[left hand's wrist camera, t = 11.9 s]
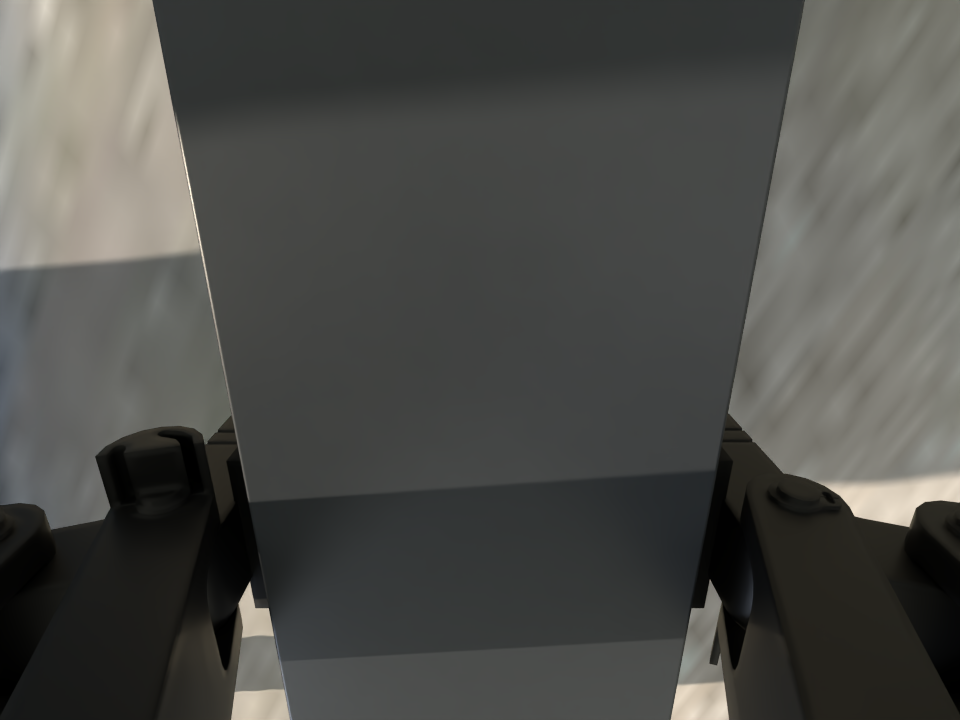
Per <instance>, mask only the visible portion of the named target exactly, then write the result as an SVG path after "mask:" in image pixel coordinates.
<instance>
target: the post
mask: <svg viewBox="0 0 960 720" xmlns="http://www.w3.org/2000/svg"><path fill="white" fill-rule="evenodd" d="M152 1H153V6H154V11H155V16H156V22H157V27H158V32H159V37H160V42H161V48H162V53H163V58H164V63H165V69H166V74H167V79H168V84H169V89H170V95H171V100H172V105H173V110H174V116H175V121H176V126H177V131H178V136H179V142H180V147H181V152H182V157H183V162H184V168H185V173H186V178H187V183H188V189H189V194H190V199H191V204H192V209H193V215H194V220H195V225H196V230H197V236H198V241H199V246H200V251H201V256H202V262H203V267H204V272H205V277H206V283H207V288H208V293H209V298H210V303H211V309H212V314H213V319H214V324H215V330H216V335H217V340H218V345H219V350H220V356H221V361H222V366H223V371H224V377H225V382H226V387H227V392H228V397H229V403H230V408H231V413H232V418H233V424H234V429H235V434H236V439H237V444H238V450H239V455H240V460H241V465H242V470H243V476H244V481H245V486H246V491H247V497H248V502H249V507H250V512H251V517H252V523H253V528H254V533H255V538H256V544H257V549H258V554H259V559H260V564H261V570H262V575H263V580H264V585H265V591H266V596H267V601H268V606H269V611H270V617H271V622H272V627H273V632H274V638H275V643H276V648H277V653H278V658H279V664H280V669H281V674H282V679H283V685H284V690H285V695H286V700H287V705H288V711H289V716H290V720H671V714H672V709H673V704H674V698H675V693H676V688H677V682H678V677H679V672H680V666H681V661H682V656H683V650H684V645H685V639H686V634H687V629H688V623H689V618H690V613H691V607H692V602H693V597H694V591H695V586H696V580H697V575H698V570H699V564H700V559H701V554H702V548H703V543H704V538H705V532H706V527H707V522H708V516H709V511H710V505H711V500H712V495H713V489H714V484H715V479H716V473H717V468H718V463H719V457H720V452H721V447H722V441H723V436H724V430H725V425H726V420H727V414H728V409H729V404H730V398H731V393H732V388H733V382H734V377H735V372H736V366H737V361H738V355H739V350H740V345H741V339H742V334H743V329H744V323H745V318H746V313H747V307H748V302H749V297H750V291H751V286H752V280H753V275H754V270H755V264H756V259H757V254H758V248H759V243H760V238H761V232H762V227H763V222H764V216H765V211H766V205H767V200H768V195H769V189H770V184H771V179H772V173H773V168H774V163H775V157H776V152H777V146H778V141H779V136H780V130H781V125H782V120H783V114H784V109H785V104H786V98H787V93H788V88H789V82H790V77H791V71H792V66H793V61H794V55H795V50H796V45H797V39H798V34H799V29H800V23H801V18H802V13H803V7H804V2H805V0H152Z"/></svg>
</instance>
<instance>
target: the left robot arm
mask: <svg viewBox="0 0 960 720" xmlns="http://www.w3.org/2000/svg"><path fill="white" fill-rule="evenodd" d="M95 457H96V461H97V464H98V467H99V471H100V474H101V477H102V481H103V484H104V487H105V491H106V494H107V497H108V501H109V504H110V507H111V508H110V510H109V512H108V514H107V516H106V518H105V519H103V520H99V521H95V522H89V523H84V524H79V525H74V526H68V527H63V528H58V529H53V530H51V529H50V526H49V523H48V520H47V517H46V515H45V512H44V510H42V509H41V508H39V507H38V506H36V505H32V504H22V503H17V504H9V505H0V720H231V715H232V708H233V700H234V692H235V685H236V677H237V669H238V661H239V654H240V646H241V638H242V630H243V625H242V618H241V613H240V608H239V604H238V603H239V601H240V599H241V597H242V595H243V593H244V591H245V590H246V588H247V586H248V584H249V582H250V583H251V588H252V593H253V598H254V603H255V608H269V606H268V601H267V596H266V591H265V585H264V580H263V575H262V570H261V564H260V559H259V554H258V549H257V544H256V538H255V533H254V528H253V523H252V517H251V512H250V507H249V502H248V497H247V491H246V486H245V481H244V476H243V470H242V465H241V460H240V455H239V450H238V444H237V439H236V434H235V429H234V424H233V418H232V416H230V417H229V418H228V420H227V421H226V422H225V423H224V424H223V425H222V426H221V427H220V428H219V429H218V433H215V434H214V435H213V436H212V437H211V438H210V439H209V441H208V444H205V445H204V440H203V435H202V434H201V433H200V432H198V431H197V430H195V429H193V428H187V427H182V426H172V427H159V428H154V429H149V430H144V431H140V432H137V433H134V434H131V435H128V436H126V437H123V438H121V439H119V440H117V441H115V442H113V443H112V444H110V445H108V446H106V447H105V448H104V449H103V450H102V451H101V452H100V453H99V454H98V455H96V456H95ZM710 580H711V582H712V584H713V586H714V588H715V589H716V591H717V593H718V595H719V597H720V599H721V601H722V604H721V608H720V613H719V618H718V622H717V627H716V632H715V637H714V641H713V646H712V651H711V656H710V663H709V664H713V665H717V664H718V659H719V655H720V653H721V660H722V668H723V675H724V683H725V691H726V698H727V706H728V714H729V720H960V503H957V502H949V501H931V502H924V503H923V504H921V505H920V506H918V507H917V508H916V510H915V513H914V516H913V518H912V521H911V524H910V527H905V526H900V525H894V524H889V523H884V522H879V521H873V520H868V519H863V518H859V517H855V516H854V515H853V513H852V511H851V509H850V507H849V506H848V505H847V504H846V503H845V501H844V500H843V499H842V498H841V497H840V496H839V495H838V494H836V493H834V492H833V491H831V490H830V489H828V488H827V487H825V486H823V485H821V484H818V483H816V482H814V481H811V480H809V479H806V478H802V477H798V476H794V475H789V474H783V473H782V472H781V471H780V469H779V468H778V467H777V466H776V465H775V464H774V463H773V462H772V461H771V460H770V458H769V457H768V456H767V455H766V454H765V453H764V452H763V451H762V450H761V449H760V447H759V446H758V445H757V444H756V443H755V442H752V439H751V438H750V436H749V435H748V434H747V433H746V432H745V431H742V428H741V427H740V425H739V424H738V423H737V422H736V421H735V420H734V419H733V418H732V417H731V416H730V415H729V414H727V420H726V425H725V430H724V436H723V441H722V447H721V452H720V457H719V463H718V468H717V473H716V479H715V484H714V489H713V495H712V500H711V505H710V511H709V516H708V522H707V527H706V532H705V538H704V543H703V548H702V554H701V559H700V564H699V570H698V575H697V580H696V586H695V591H694V597H693V602H692V607H691V608H704V606H705V601H706V596H707V591H708V586H709V581H710Z"/></svg>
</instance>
